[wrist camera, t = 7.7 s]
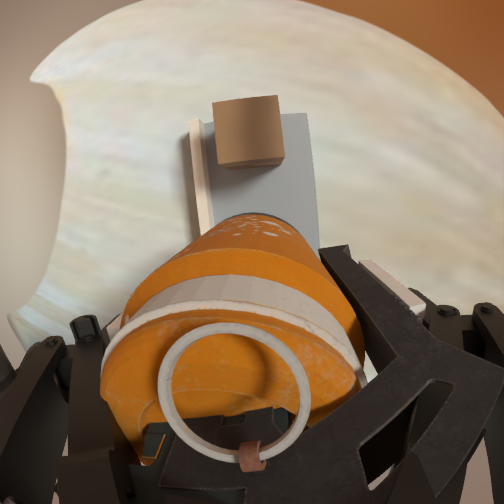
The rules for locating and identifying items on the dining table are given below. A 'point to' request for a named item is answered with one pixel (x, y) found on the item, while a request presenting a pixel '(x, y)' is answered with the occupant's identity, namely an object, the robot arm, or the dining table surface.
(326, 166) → the dining table surface
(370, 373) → the dining table surface
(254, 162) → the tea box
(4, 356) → the robot arm
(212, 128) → the shelf board
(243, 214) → the canister
